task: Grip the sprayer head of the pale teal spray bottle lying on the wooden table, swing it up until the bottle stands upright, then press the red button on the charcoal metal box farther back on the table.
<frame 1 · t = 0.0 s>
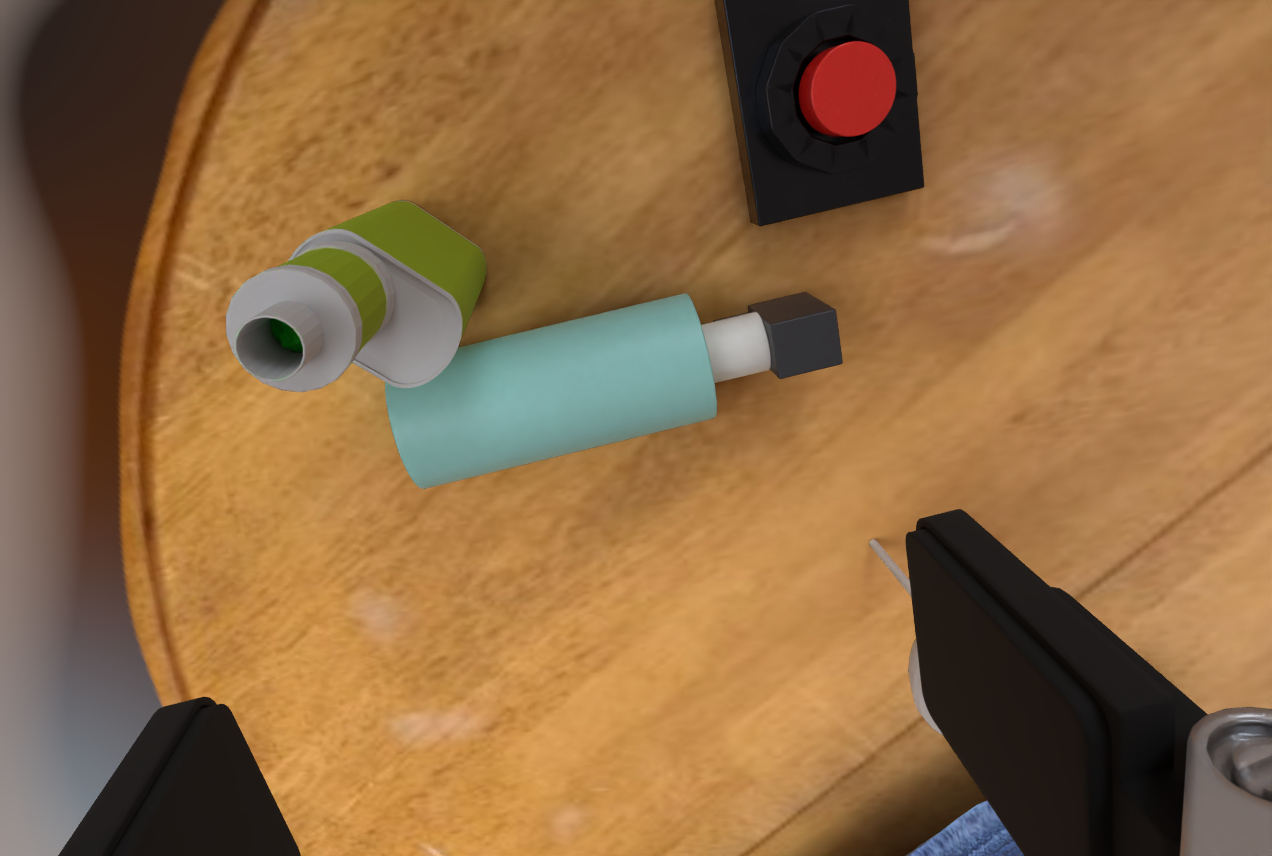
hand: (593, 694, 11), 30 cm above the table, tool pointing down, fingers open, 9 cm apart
button box: (816, 95, 38), on the table
vape: (424, 256, 38), on the table
button: (846, 90, 34), point 4 cm above the table, slide at 0.1 cm
lollipop: (871, 541, 46), on the table
spray bottle: (617, 375, 38), point 3 cm above the table, hinge at -90.0°
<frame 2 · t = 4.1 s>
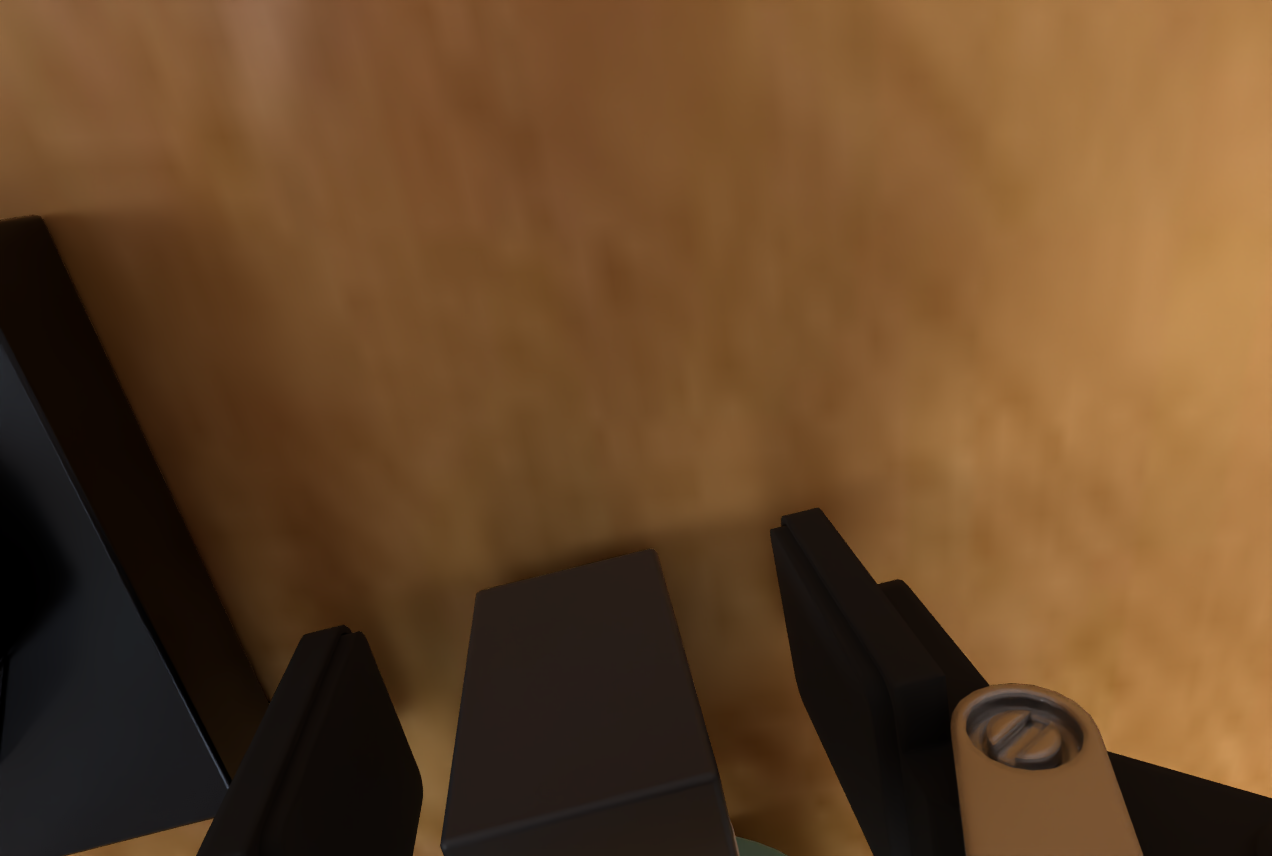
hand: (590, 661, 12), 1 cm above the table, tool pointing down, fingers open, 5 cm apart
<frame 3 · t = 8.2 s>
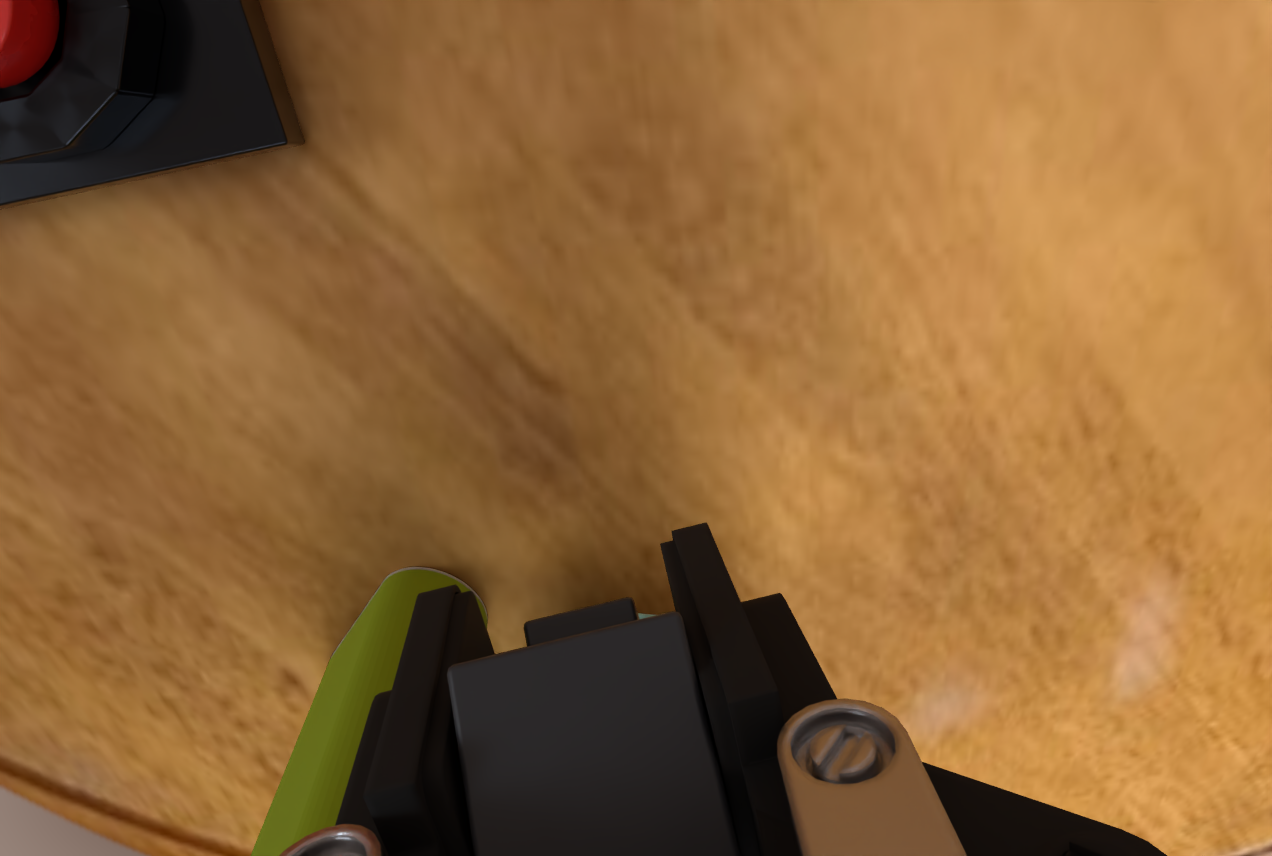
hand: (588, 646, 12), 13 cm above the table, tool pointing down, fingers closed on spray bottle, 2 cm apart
button box: (49, 18, 20), on the table
vape: (408, 641, 27), on the table
spray bottle: (638, 773, 17), point 10 cm above the table, hinge at -38.6°, touching gripper
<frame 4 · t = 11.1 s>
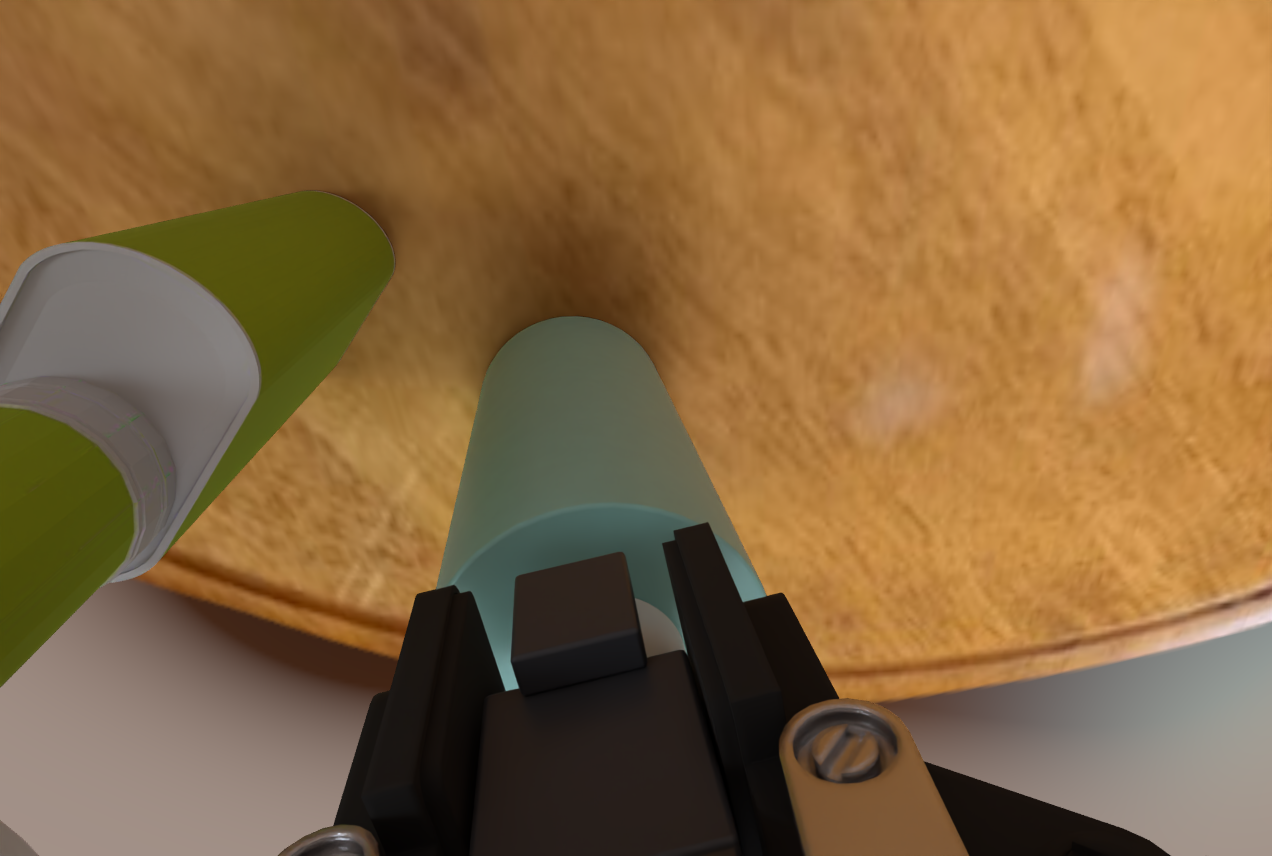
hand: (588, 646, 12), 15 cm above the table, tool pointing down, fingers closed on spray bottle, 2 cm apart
vape: (309, 288, 25), on the table
spray bottle: (590, 550, 17), point 10 cm above the table, hinge at 0.4°, touching gripper
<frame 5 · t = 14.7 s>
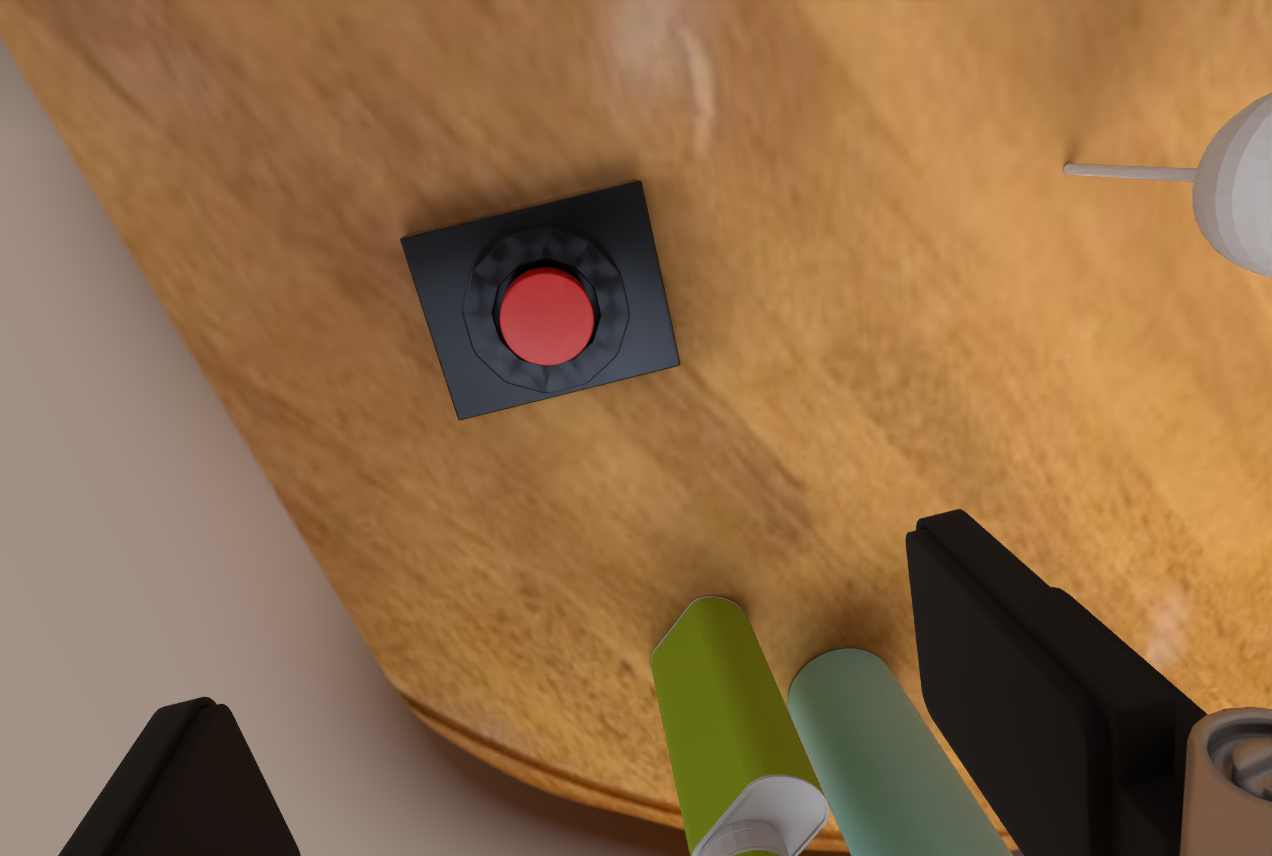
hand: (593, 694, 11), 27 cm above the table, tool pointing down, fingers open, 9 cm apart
button box: (546, 297, 36), on the table
vape: (698, 642, 43), on the table
button: (546, 315, 32), point 4 cm above the table, slide at 0.1 cm
lollipop: (1065, 168, 36), on the table
spray bottle: (920, 841, 35), point 10 cm above the table, hinge at 0.0°
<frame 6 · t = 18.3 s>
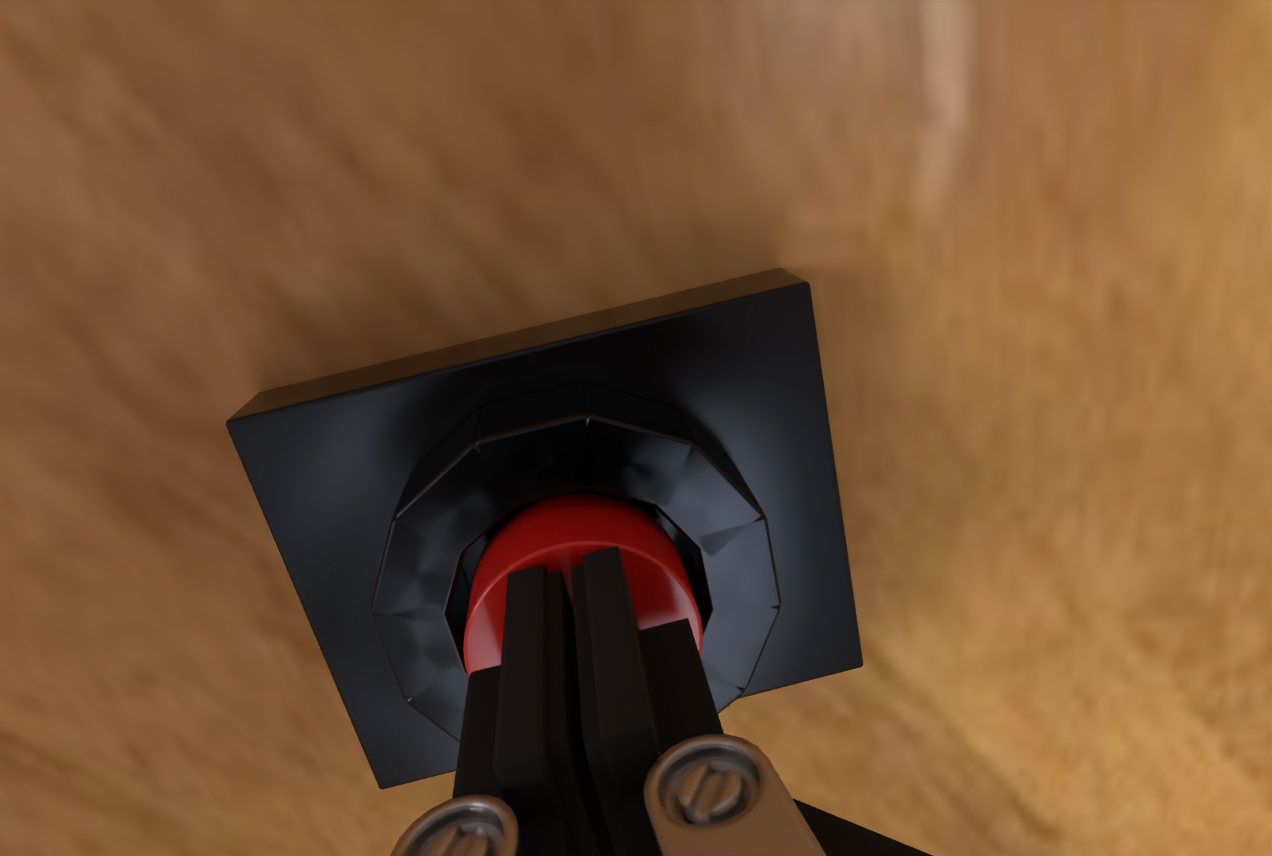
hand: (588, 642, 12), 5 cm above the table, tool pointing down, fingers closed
button box: (573, 517, 16), on the table
button: (582, 617, 13), point 4 cm above the table, slide at -0.2 cm, touching gripper
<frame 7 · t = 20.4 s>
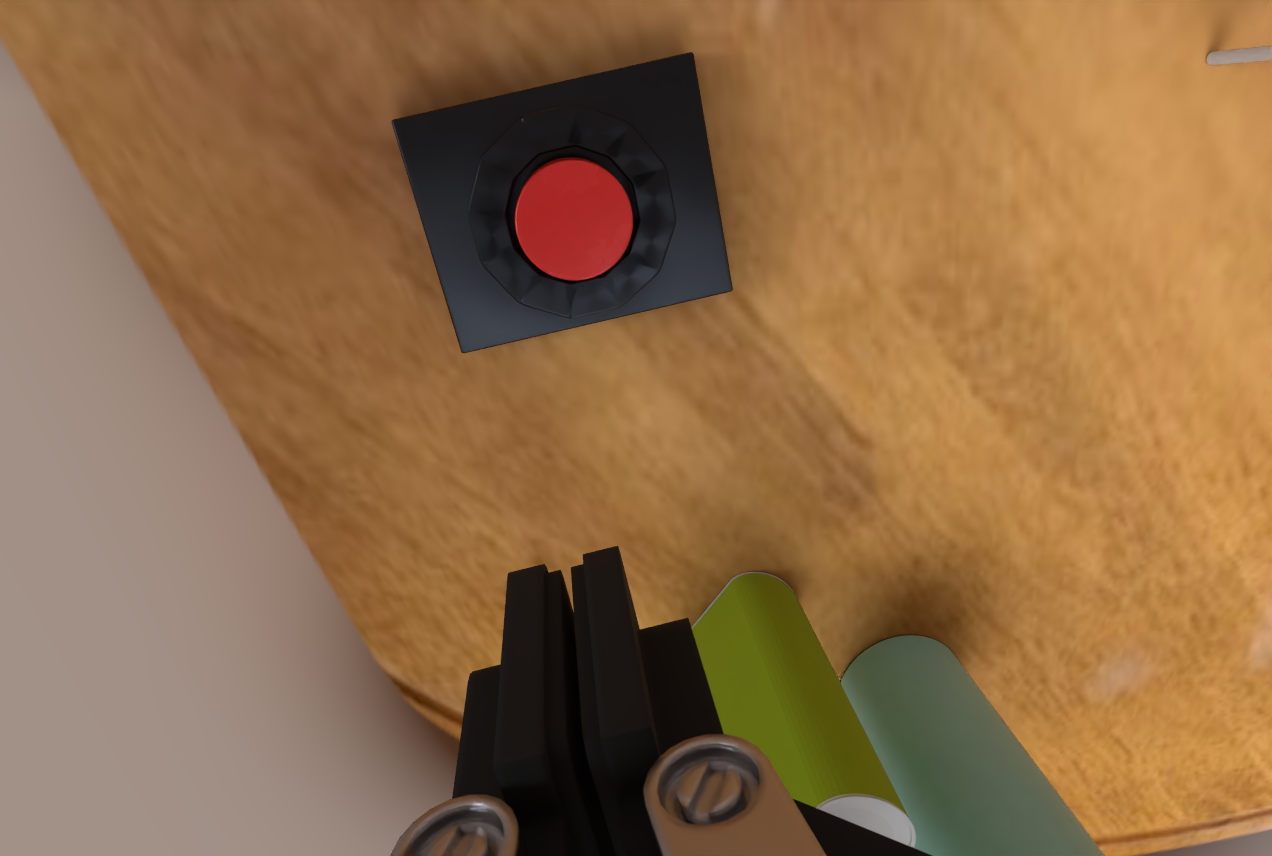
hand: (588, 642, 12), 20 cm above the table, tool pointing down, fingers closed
button box: (570, 205, 29), on the table
vape: (737, 625, 37), on the table
button: (573, 218, 25), point 4 cm above the table, slide at 0.1 cm
lollipop: (1208, 58, 30), on the table
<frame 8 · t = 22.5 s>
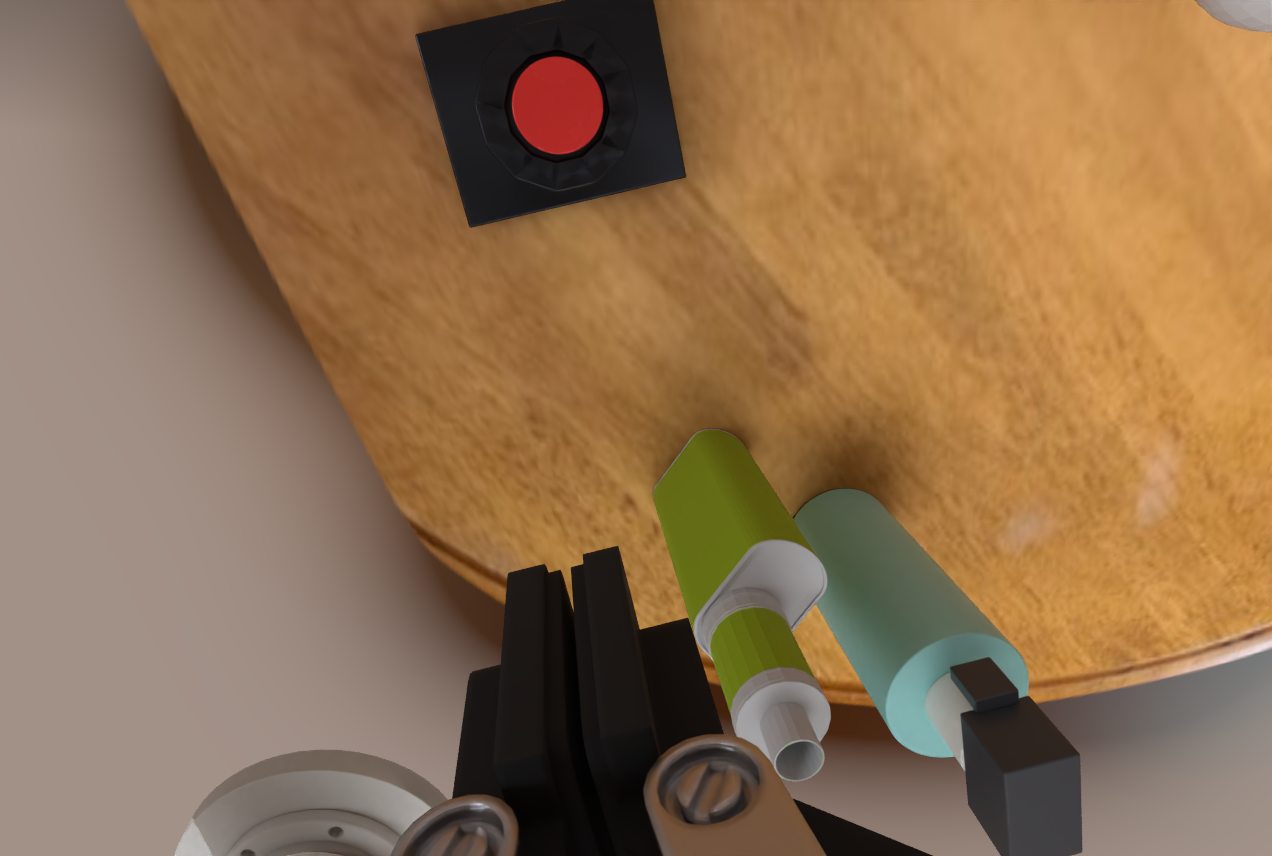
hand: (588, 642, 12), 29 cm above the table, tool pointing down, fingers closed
button box: (555, 110, 37), on the table
vape: (699, 478, 44), on the table
button: (557, 107, 33), point 4 cm above the table, slide at 0.1 cm
spray bottle: (915, 640, 36), point 10 cm above the table, hinge at 0.0°
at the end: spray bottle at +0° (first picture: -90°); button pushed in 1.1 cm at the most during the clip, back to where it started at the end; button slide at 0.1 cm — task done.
